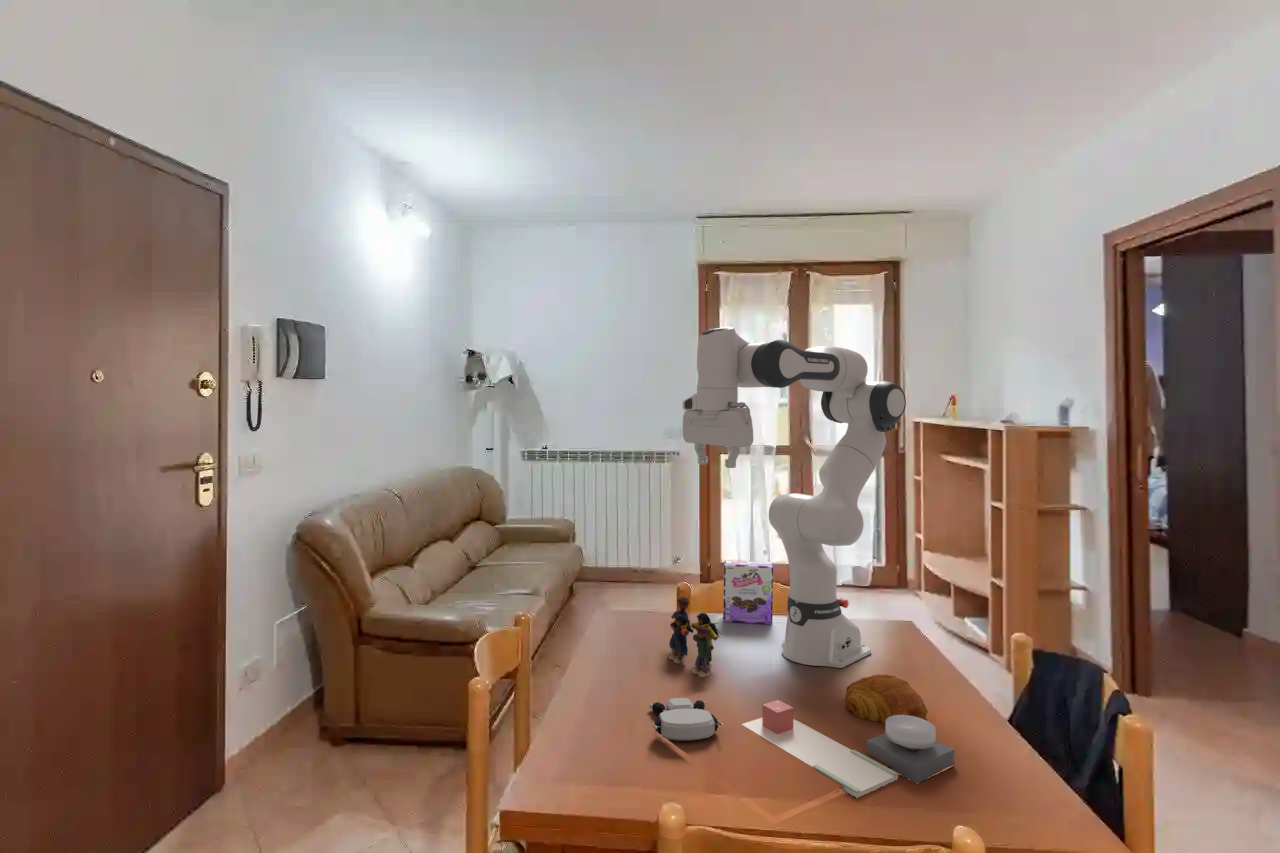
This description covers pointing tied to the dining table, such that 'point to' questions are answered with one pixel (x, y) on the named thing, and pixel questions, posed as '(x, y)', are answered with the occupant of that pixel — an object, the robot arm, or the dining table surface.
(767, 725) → the red die
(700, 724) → the robot toy
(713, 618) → the dining table surface
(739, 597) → the candy box
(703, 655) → the doll family
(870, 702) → the croissant
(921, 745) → the dome plunger
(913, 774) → the base
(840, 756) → the board
